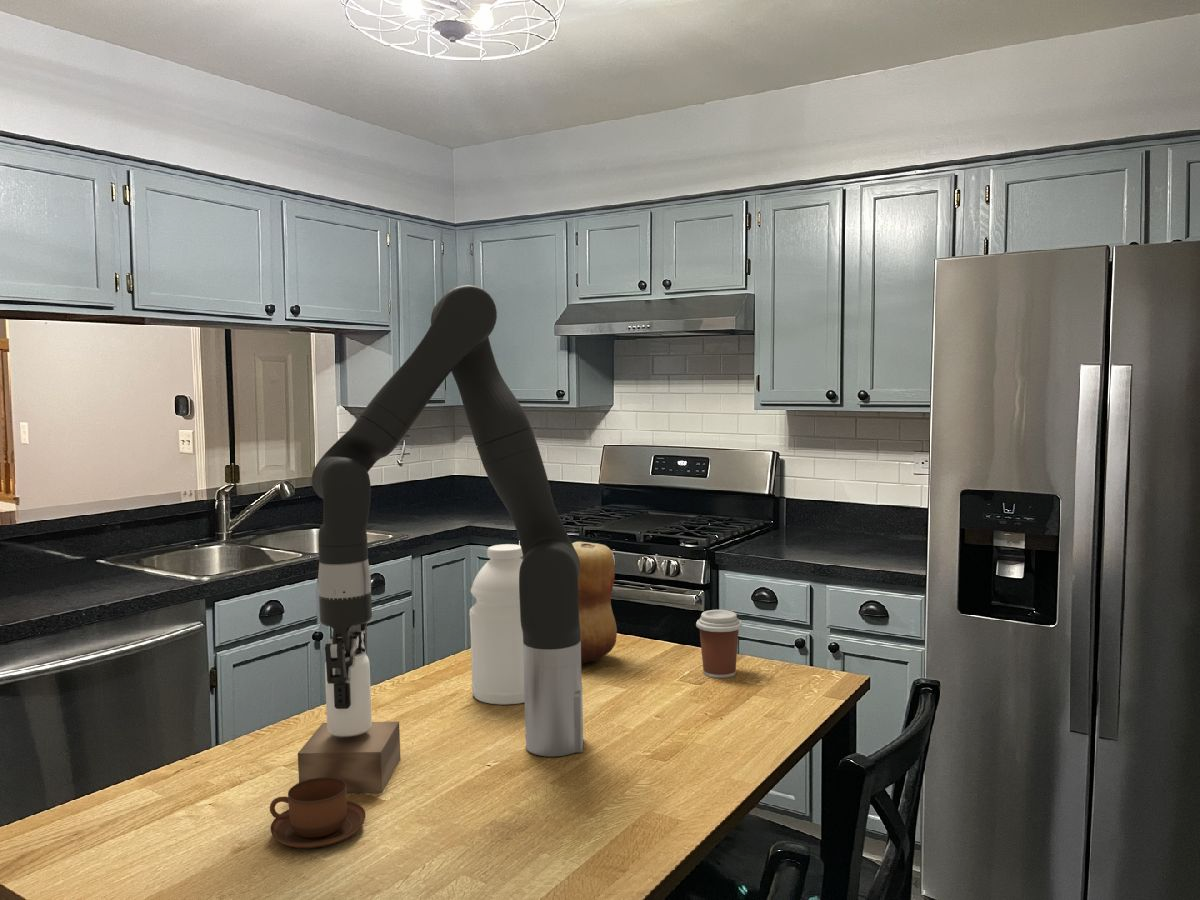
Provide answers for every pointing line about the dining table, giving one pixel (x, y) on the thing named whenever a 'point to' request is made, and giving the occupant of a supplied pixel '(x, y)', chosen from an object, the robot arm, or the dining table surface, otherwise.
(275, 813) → the cup and saucer
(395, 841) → the dining table surface
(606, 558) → the butternut squash
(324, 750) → the walnut block
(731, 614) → the coffee cup
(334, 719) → the can
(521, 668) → the bottle
